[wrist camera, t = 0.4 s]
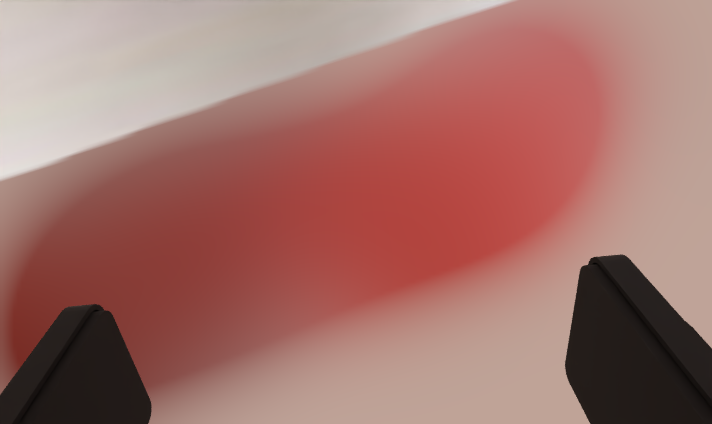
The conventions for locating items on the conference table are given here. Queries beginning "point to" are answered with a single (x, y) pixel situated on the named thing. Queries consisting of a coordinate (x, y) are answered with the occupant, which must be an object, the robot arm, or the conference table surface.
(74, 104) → the conference table surface
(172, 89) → the conference table surface
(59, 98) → the conference table surface
